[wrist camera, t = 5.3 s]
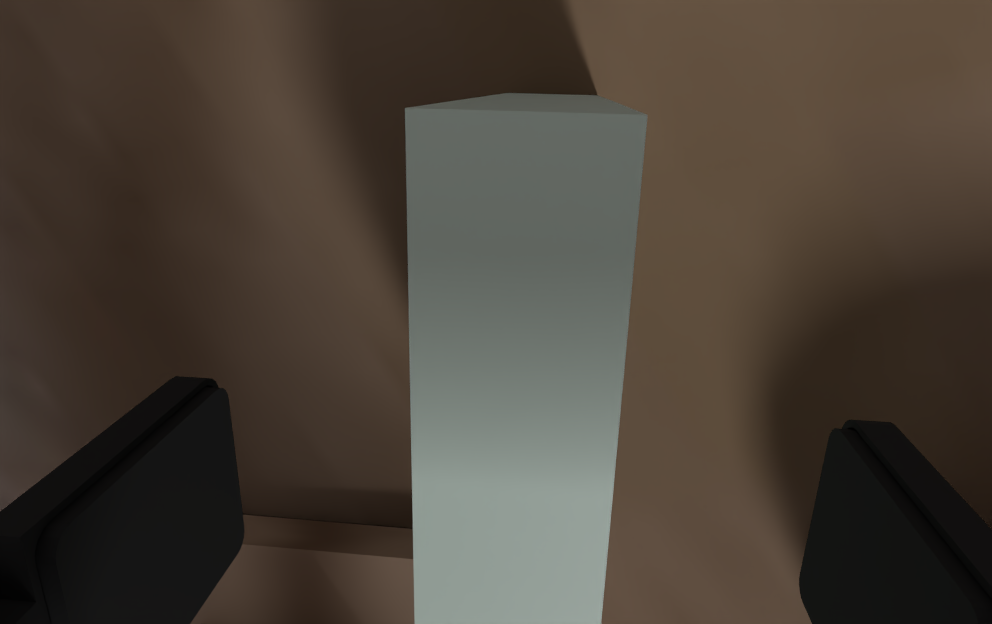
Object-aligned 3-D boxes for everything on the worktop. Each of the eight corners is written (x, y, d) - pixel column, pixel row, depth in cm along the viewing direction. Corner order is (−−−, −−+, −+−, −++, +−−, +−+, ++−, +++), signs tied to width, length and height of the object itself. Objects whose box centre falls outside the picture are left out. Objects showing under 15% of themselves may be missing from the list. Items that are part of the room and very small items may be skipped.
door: (598, 95, 18) (649, 114, 7) (571, 488, 22) (574, 926, 10) (506, 92, 18) (402, 107, 7) (496, 482, 22) (418, 905, 11)
